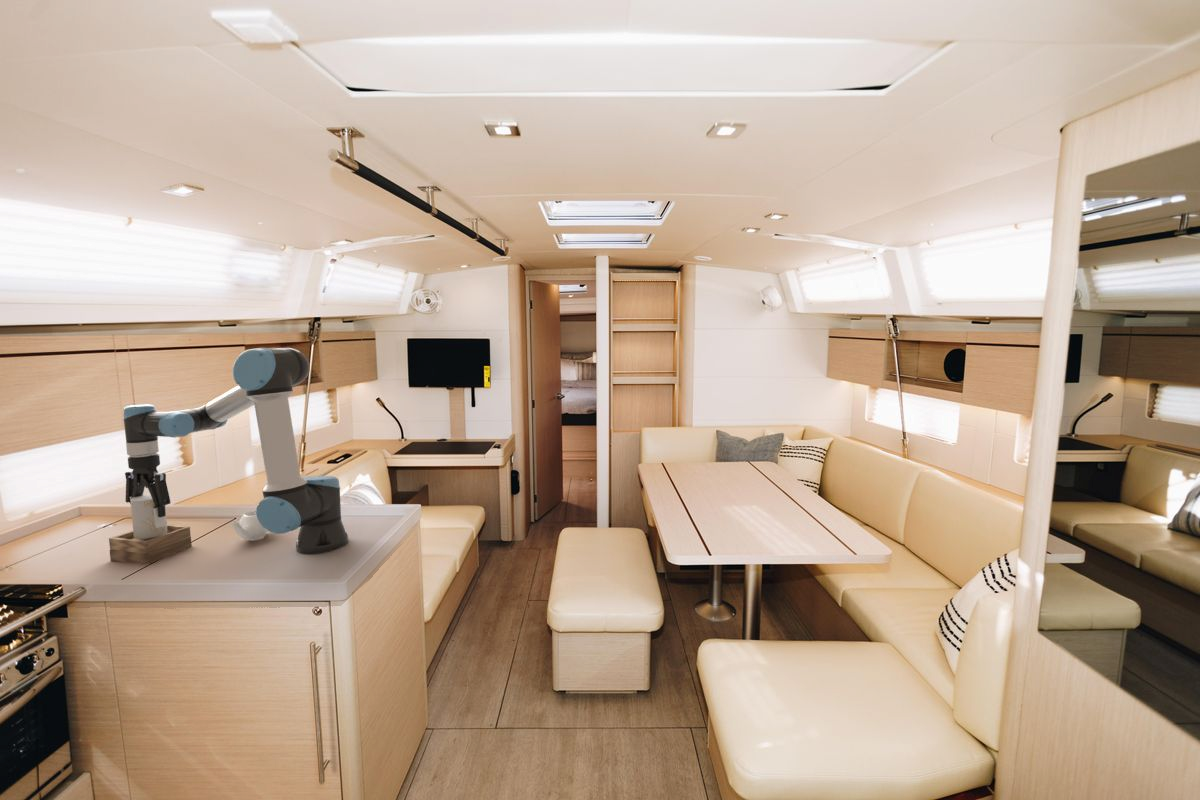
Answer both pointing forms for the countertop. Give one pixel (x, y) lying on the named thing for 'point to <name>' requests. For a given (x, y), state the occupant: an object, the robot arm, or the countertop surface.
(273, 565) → the countertop surface
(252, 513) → the teapot
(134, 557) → the tower base
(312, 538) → the robot arm
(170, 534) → the wooden tray
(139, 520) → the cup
